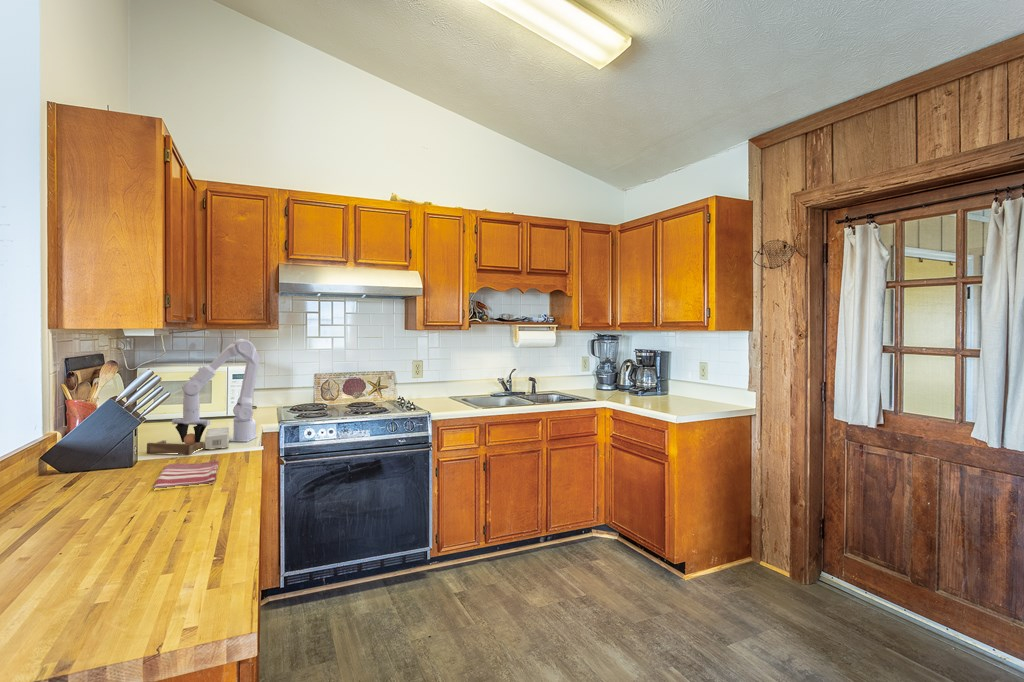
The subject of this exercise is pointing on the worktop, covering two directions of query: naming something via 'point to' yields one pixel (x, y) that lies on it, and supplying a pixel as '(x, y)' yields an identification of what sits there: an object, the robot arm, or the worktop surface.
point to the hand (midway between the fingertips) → (191, 442)
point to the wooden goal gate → (173, 447)
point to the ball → (189, 439)
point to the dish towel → (187, 474)
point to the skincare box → (217, 438)
